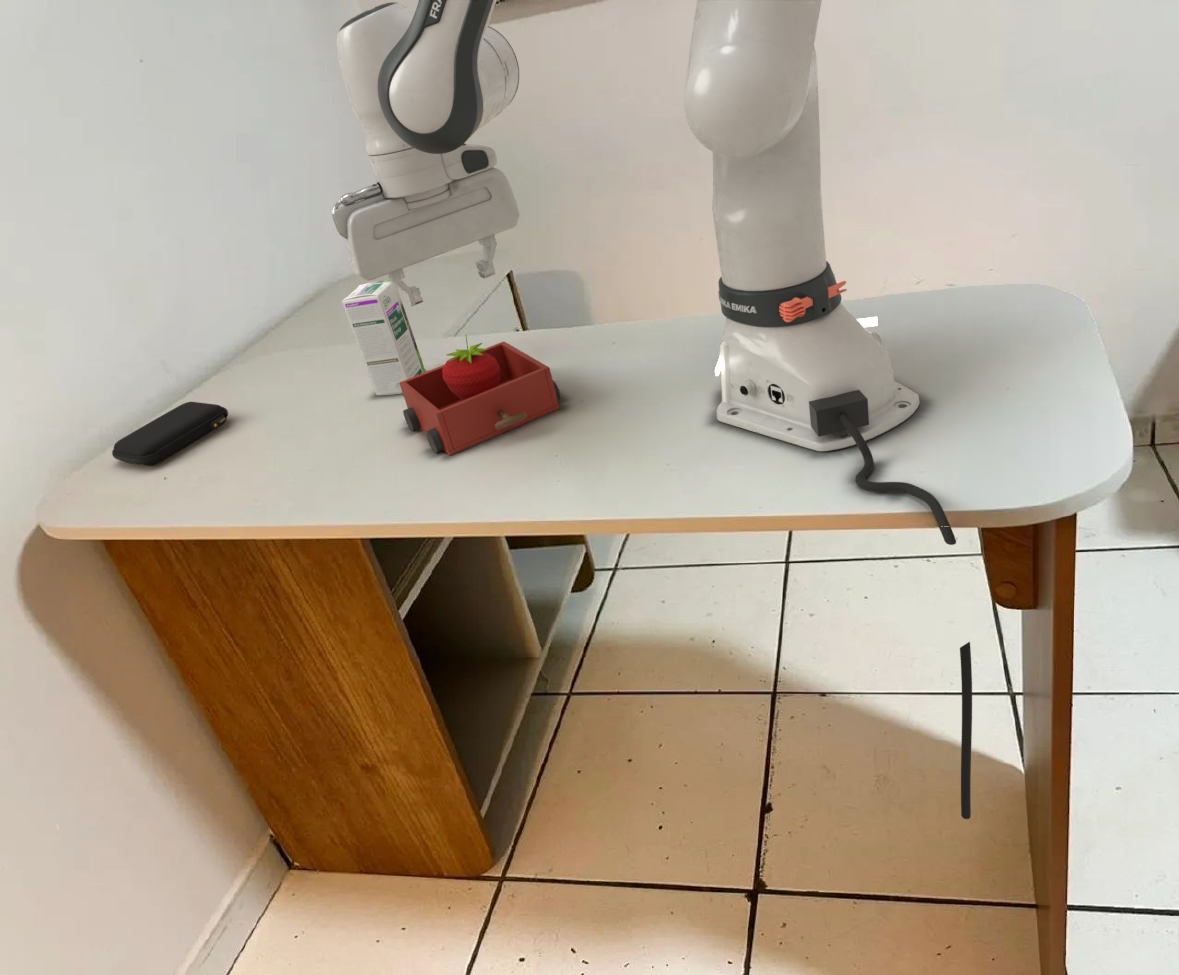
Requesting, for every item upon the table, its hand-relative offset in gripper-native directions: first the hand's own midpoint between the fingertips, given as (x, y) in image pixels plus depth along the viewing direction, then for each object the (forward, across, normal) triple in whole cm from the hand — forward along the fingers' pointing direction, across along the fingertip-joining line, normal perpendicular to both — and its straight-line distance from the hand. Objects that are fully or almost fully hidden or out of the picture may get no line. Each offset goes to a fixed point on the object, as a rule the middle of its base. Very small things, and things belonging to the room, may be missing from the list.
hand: (452, 289), depth 110 cm
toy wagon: (+17, -1, -1) cm, 17 cm away
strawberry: (+16, -1, 0) cm, 16 cm away
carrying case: (+16, -35, +31) cm, 49 cm away
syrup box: (+16, -5, +20) cm, 26 cm away
